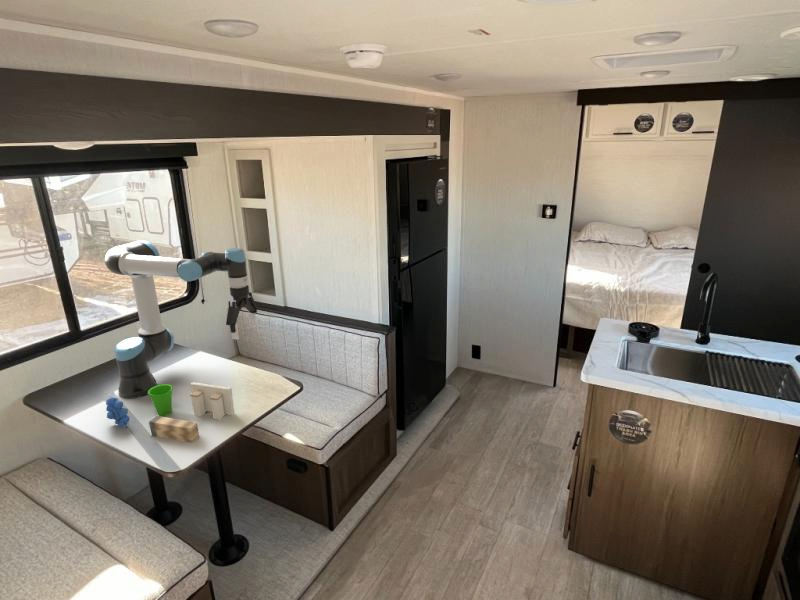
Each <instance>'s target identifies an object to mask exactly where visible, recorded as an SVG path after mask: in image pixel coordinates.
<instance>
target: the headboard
mask: <svg viewBox="0 0 800 600" xmlns="http://www.w3.org/2000/svg"><path fill="white" fill-rule="evenodd" d="M189 385H190V390H191V393H190V395H189V397H190V398H191V401H192V410H193V416H194V415H195V417H202V416H203V415H205V413H206V412H210V413H212V417H213V419H214V420H219V419H220V420H222V417H223V416H224V417H225V415H227V414H228V415H227V416H233V415H235V414H234V413H235V407H234V399H233V391H232V387H228V386H222V385H217V384H208V383H201V382H195V381H193V382H191V383H190V384H189ZM224 417H223V418H224Z"/></svg>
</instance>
